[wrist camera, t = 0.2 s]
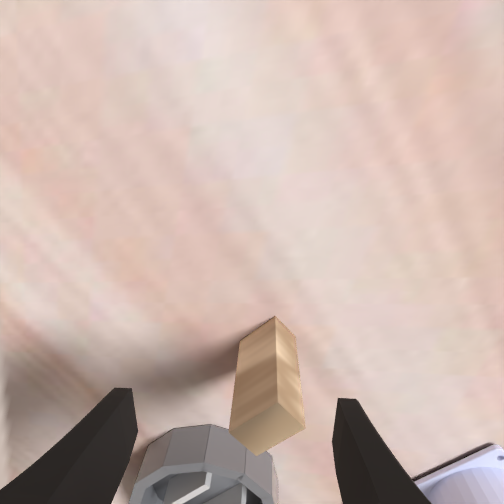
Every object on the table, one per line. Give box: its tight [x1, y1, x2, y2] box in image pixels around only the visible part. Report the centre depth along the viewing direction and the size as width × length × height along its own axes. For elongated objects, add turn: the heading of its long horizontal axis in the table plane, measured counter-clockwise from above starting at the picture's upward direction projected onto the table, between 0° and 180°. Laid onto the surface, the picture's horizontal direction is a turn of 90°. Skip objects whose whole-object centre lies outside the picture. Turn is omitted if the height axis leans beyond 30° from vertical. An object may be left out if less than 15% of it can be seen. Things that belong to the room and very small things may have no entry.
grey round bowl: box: [129, 425, 279, 504], centre depth 27 cm, size 11×11×3 cm
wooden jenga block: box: [229, 316, 306, 456], centre depth 20 cm, size 2×3×7 cm, turn 131°
